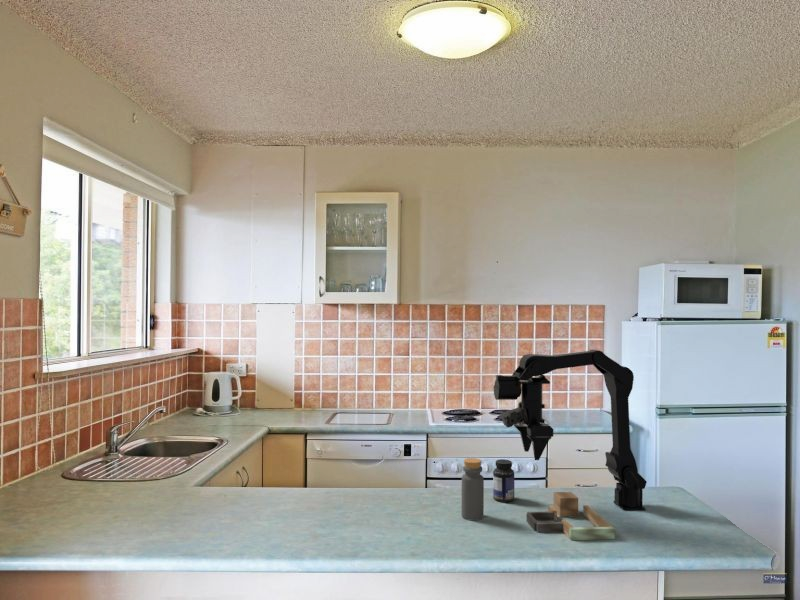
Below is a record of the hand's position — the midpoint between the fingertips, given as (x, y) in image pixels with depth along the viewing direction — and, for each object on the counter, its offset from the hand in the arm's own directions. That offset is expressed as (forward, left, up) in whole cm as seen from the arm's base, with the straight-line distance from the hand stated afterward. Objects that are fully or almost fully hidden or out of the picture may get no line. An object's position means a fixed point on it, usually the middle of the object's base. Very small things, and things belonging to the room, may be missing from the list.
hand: (531, 455), depth 158 cm
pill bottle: (+6, -8, -15) cm, 18 cm away
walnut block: (-8, +4, -15) cm, 17 cm away
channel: (-5, +14, -15) cm, 21 cm away
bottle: (+18, +5, -15) cm, 24 cm away
